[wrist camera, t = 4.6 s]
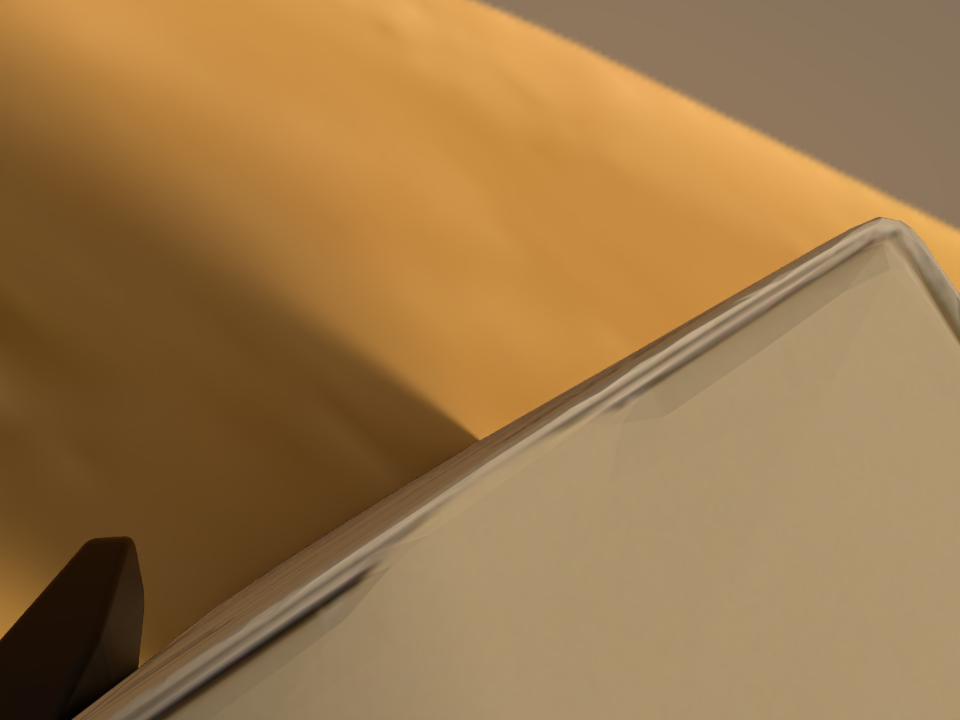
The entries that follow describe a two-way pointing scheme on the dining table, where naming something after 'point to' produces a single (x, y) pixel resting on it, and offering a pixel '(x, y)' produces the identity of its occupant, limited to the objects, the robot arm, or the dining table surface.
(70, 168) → the dining table surface
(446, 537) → the skincare box
